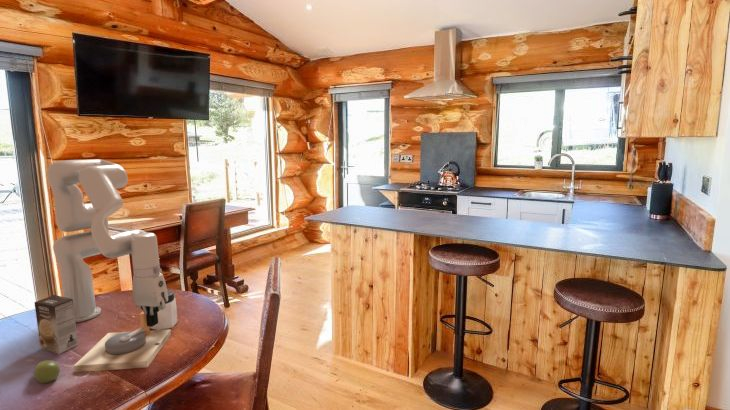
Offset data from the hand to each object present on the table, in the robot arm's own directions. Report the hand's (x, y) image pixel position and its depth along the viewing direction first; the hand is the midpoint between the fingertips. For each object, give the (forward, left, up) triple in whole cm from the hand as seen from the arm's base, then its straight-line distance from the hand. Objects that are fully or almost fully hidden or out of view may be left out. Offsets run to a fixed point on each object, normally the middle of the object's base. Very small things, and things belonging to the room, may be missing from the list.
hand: (152, 324), depth 133 cm
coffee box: (-29, 0, -6) cm, 30 cm away
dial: (-6, -4, -4) cm, 8 cm away
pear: (-23, -17, -6) cm, 29 cm away
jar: (-1, +12, -6) cm, 14 cm away
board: (-6, -6, -6) cm, 10 cm away
